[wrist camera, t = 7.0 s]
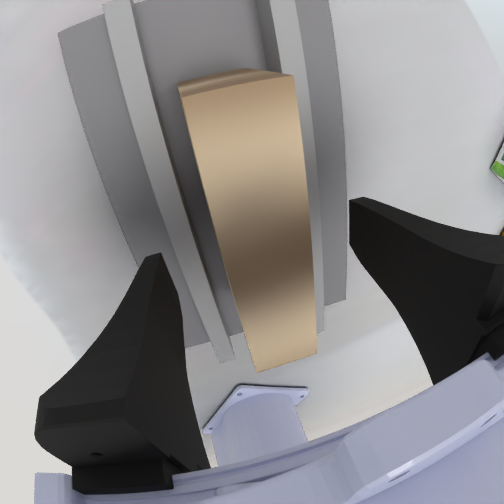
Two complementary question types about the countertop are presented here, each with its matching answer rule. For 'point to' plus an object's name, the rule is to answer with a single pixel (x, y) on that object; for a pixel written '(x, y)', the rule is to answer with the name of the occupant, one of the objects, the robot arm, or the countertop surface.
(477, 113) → the countertop surface
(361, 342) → the countertop surface
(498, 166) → the syrup box
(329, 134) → the rail
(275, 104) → the tan block
